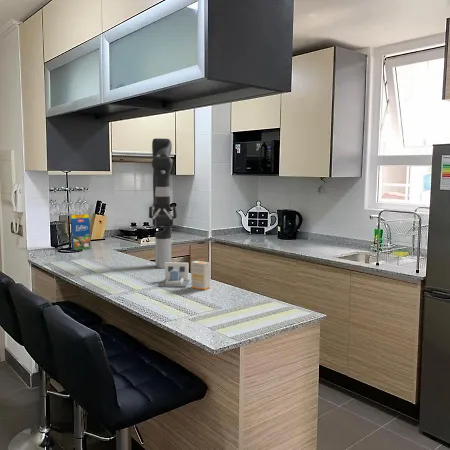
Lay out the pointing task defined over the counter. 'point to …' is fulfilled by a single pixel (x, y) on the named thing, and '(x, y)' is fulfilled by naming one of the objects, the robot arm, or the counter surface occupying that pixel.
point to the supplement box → (200, 275)
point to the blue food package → (80, 232)
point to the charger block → (174, 275)
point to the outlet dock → (182, 275)
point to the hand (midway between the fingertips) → (162, 226)
